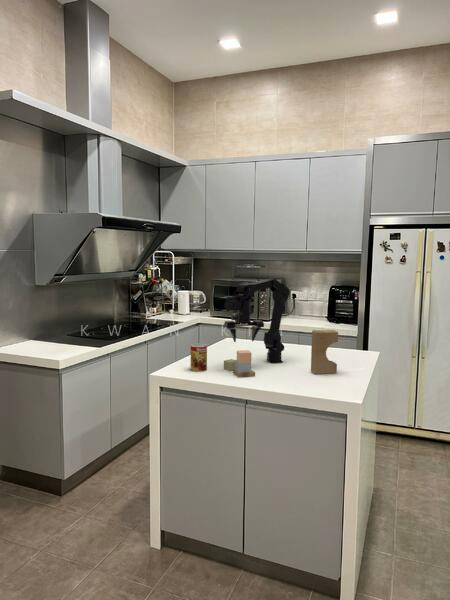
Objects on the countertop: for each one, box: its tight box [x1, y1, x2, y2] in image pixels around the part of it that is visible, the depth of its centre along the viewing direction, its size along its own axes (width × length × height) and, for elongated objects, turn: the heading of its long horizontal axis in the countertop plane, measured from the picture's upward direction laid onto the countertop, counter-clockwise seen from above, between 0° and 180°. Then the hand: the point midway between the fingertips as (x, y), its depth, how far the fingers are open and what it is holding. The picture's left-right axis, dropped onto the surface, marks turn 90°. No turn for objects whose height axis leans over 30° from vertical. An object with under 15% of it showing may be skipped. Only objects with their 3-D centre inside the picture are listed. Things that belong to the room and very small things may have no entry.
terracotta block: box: [236, 349, 253, 364], centre depth 204 cm, size 6×6×4 cm
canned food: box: [190, 342, 208, 373], centre depth 212 cm, size 8×8×12 cm
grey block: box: [234, 359, 252, 373], centre depth 204 cm, size 6×6×4 cm
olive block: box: [223, 358, 236, 373], centre depth 213 cm, size 5×5×4 cm
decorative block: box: [310, 329, 339, 375], centre depth 209 cm, size 11×6×20 cm, turn 98°
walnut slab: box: [232, 369, 256, 379], centre depth 205 cm, size 8×8×2 cm
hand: (243, 341), depth 216 cm, fingers open, 9 cm apart
